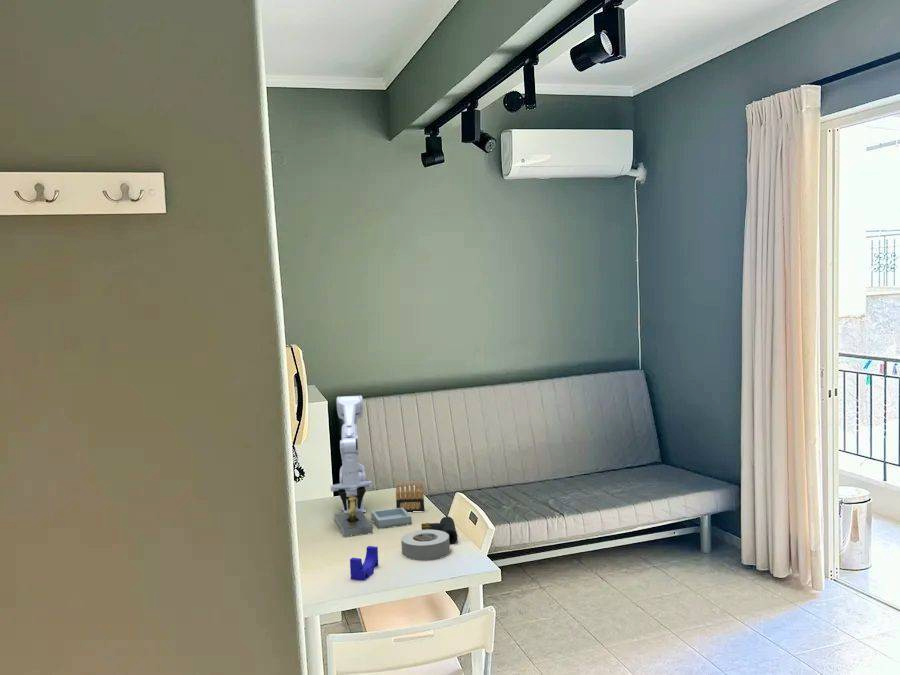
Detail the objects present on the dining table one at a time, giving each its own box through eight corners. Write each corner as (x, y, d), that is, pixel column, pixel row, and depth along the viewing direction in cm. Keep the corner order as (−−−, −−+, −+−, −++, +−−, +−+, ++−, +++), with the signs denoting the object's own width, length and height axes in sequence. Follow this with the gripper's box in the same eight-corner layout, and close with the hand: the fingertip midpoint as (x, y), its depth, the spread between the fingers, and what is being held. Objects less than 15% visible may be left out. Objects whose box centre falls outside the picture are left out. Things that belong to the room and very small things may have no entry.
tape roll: (410, 564, 234) (410, 547, 233) (395, 548, 248) (395, 533, 247) (457, 556, 239) (456, 540, 239) (439, 541, 253) (439, 526, 253)
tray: (371, 519, 280) (371, 511, 279) (403, 515, 283) (402, 507, 283) (378, 528, 268) (378, 520, 268) (411, 524, 272) (411, 516, 272)
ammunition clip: (424, 510, 289) (423, 479, 288) (424, 512, 287) (423, 480, 286) (396, 511, 288) (395, 480, 288) (396, 513, 287) (395, 481, 286)
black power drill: (422, 530, 249) (421, 516, 264) (422, 546, 249) (421, 531, 264) (457, 529, 250) (454, 515, 265) (457, 545, 250) (454, 530, 265)
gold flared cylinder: (345, 518, 273) (344, 495, 272) (357, 517, 274) (356, 493, 274) (347, 522, 269) (346, 498, 268) (360, 520, 270) (359, 496, 269)
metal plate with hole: (334, 520, 280) (334, 514, 279) (361, 517, 283) (361, 510, 282) (343, 537, 261) (343, 529, 260) (372, 533, 264) (372, 526, 263)
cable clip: (364, 581, 221) (363, 560, 221) (350, 579, 223) (349, 559, 222) (382, 566, 232) (382, 547, 232) (369, 565, 234) (368, 545, 233)
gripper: (332, 476, 264) (333, 514, 265) (373, 471, 269) (374, 509, 270) (328, 471, 271) (330, 509, 272) (368, 467, 275) (370, 504, 276)
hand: (352, 509), depth 271 cm, fingers closed on gold flared cylinder, 4 cm apart
